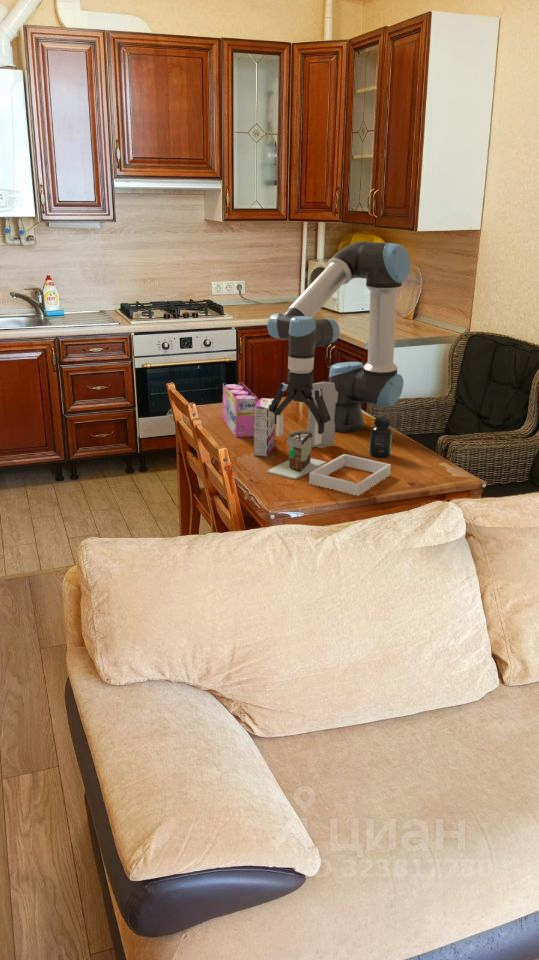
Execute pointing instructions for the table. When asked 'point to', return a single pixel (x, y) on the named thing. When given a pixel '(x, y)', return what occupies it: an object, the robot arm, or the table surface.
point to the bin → (322, 480)
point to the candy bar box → (263, 428)
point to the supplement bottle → (380, 438)
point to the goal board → (289, 473)
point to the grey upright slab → (330, 400)
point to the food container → (300, 449)
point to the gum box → (239, 409)
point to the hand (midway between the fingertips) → (298, 439)
